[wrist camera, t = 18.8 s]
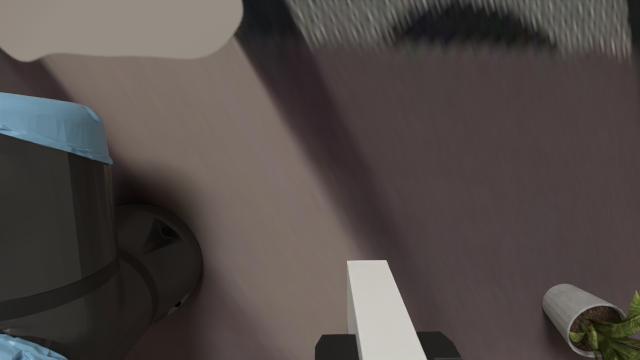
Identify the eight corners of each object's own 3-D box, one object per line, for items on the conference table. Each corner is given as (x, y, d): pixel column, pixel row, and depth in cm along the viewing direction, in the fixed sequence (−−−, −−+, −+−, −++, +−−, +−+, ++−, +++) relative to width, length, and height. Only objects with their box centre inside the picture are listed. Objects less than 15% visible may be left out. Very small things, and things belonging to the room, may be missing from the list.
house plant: (638, 322, 47) (802, 435, 31) (543, 368, 48) (652, 499, 32) (597, 237, 44) (754, 314, 28) (499, 289, 46) (594, 389, 30)
